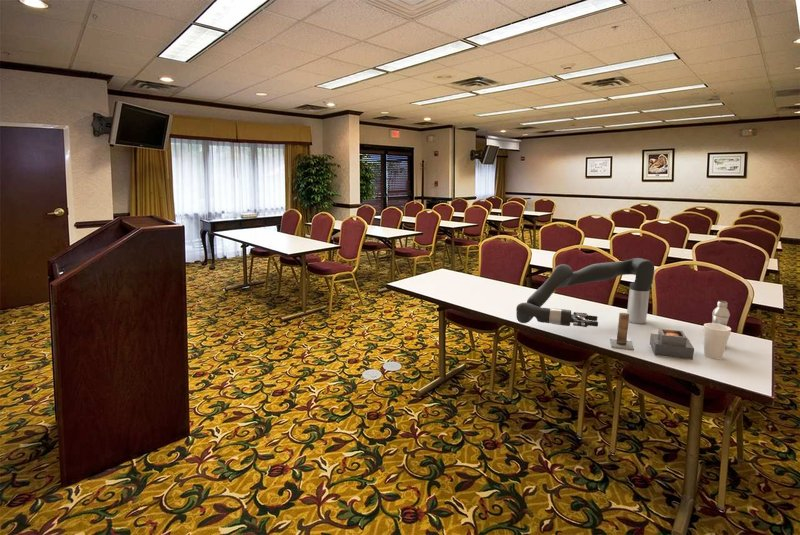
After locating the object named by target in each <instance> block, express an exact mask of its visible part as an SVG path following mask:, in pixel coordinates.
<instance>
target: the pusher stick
mask: <svg viewBox="0 0 800 535" xmlns="http://www.w3.org/2000/svg"><path fill="white" fill-rule="evenodd" d="M629 323H630V322H629V314H628V313H627V312H619V314H618V324H617V332H616V333H617V334H616V335H617V336H616V339H617V344H619V345H626V342H627V341H628V331H629Z"/></svg>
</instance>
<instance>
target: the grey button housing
mask: <svg viewBox="0 0 800 535" xmlns="http://www.w3.org/2000/svg"><path fill="white" fill-rule="evenodd" d="M666 333H676V334H678V335H679V336H673V335H666ZM649 337H650V339H649V345H651V346H650V348H651V351H652V353H653V355H654V356H657V355H658V356H659V357H665V356H666V357H667V358H675V359H681V360H692V361H693V360H694V353H695V348H694V346H693V345H692V343H691V342H690V340H689V338H688V337H687V335H686V334H685V332H684V331H683V330H678V329H677V330H676V329H670V328H669V329H668V328H667V329H666V328H658V333H653V332H651V333H650V336H649Z"/></svg>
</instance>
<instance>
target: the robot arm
mask: <svg viewBox="0 0 800 535" xmlns="http://www.w3.org/2000/svg"><path fill="white" fill-rule="evenodd" d="M625 275H633V276H635V280H634V281H633V282H630V284H629V292H628V300H627V301H628V302H627V310H626V313H628V314H629V323H633V324H641V325H642V324H646V323H647V316H648V308H649V300H650V299H649V298H650V290H651V287H652V285H653V280H654V275H655V265H654V263H653V262H652V261H651V260H649V259H646V258H641V257H635V258H631V259H624V260H623V261H622V260H621V261H609V262H608V261H607V262H600V263H599V262H597V263H593V264H590V265H587V266H585V267H583V268H581V269H579V270H575V271H573V268H572V267H571V266H570V265H568V264H565V263H561V264H558V265H557V266H555V268H554V269H553V271H552V273H551V274H550V275H549V277H548V278H547V279H546V280H545V281H544V283H542V285H541V286H540V287H538V288H537V289H536V290H535V291H534V292H533V293H532V294H530V296H529V297H528V298H527V300H526V302H520V303H518V304H517V305H516V309H515V311H516V316H515V317H516V320H517V321H518V322H519V323H520V324H527V323H529V322H530V321H532V319H533V318H535V319H536V321H537V322H538V323H543V324H550V325H555V326H564V327H570V326H571V323H572V326H574V327H583V328H588V327H599V321H598V316H597V315H590V314H588V313H586V312H576V311H574V312H573V313H572V310H570V309H564V308H563V309H562V308H548V307H542V306H544V305H545V303H546V302H547V301H548V300H549V299H550V298H551V296H552V294H553V293H554V292H555V291H556V289H558V288H566V287H570V286H575V285H579V284H580V285H581V284H587V283H595V282H605V281H609V280H612V279H613V280H614V279H615V278H617V277H619V276H625Z"/></svg>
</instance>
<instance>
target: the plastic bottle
mask: <svg viewBox="0 0 800 535" xmlns="http://www.w3.org/2000/svg"><path fill="white" fill-rule="evenodd" d="M716 305H717V306H716V307H714V309H713V311H712V313H711V314H712V321H711V323H715V324H721V325H725V326H727V325H728V322H729V320H730V319H729V318H730V316H731V313H730V311H729V309H728V302H727V301H724V300H718V301H717V304H716Z"/></svg>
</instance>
